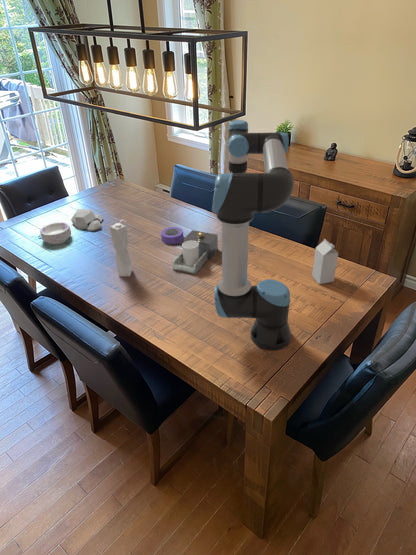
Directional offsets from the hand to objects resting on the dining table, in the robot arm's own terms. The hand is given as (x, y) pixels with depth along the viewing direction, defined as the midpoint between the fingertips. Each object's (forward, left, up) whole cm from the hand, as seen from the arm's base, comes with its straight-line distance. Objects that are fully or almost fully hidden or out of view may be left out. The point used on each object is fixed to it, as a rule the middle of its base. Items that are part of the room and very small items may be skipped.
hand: (237, 209), depth 181 cm
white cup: (-3, +22, -30) cm, 37 cm away
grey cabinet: (-4, +22, -31) cm, 38 cm away
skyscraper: (-22, +48, -31) cm, 61 cm away
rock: (+13, +95, -31) cm, 101 cm away
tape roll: (+16, +42, -31) cm, 55 cm away
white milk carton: (+6, -39, -31) cm, 50 cm away
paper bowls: (-7, +100, -31) cm, 105 cm away
